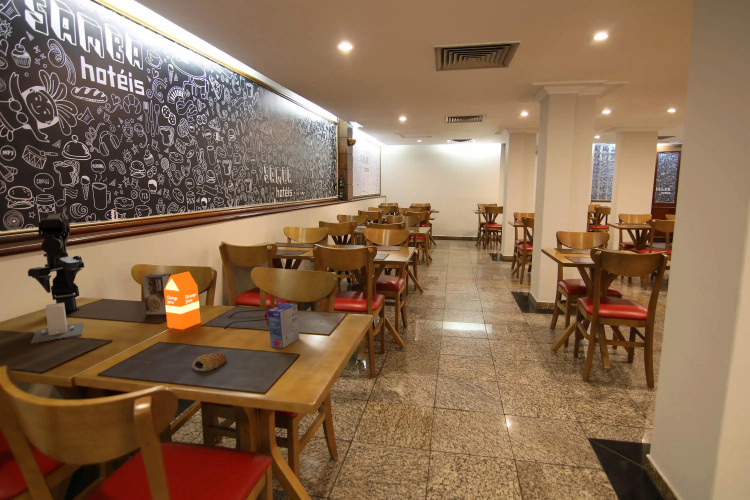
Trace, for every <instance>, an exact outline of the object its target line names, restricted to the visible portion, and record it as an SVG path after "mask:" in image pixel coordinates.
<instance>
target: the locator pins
mask: <svg viewBox="0 0 750 500" xmlns="http://www.w3.org/2000/svg"><path fill="white" fill-rule="evenodd" d="M70 330H74V325H71V326H70ZM45 334H46V330H42V335H45ZM58 335H60V334H59V331H55V336H58Z"/></svg>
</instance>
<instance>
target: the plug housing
mask: <svg viewBox="0 0 750 500" xmlns="http://www.w3.org/2000/svg"><path fill="white" fill-rule="evenodd" d="M44 309H45V313H46V314H45V315H46V317H45V318H46V323H47V328H48V331H49V335H53V334H55V331H59V334H60V333H66V332H67V329H68V328H67V325H68V319H67V315H66V313H65V305H64V303H57V304H56V303H51V304H46V306H45V308H44Z"/></svg>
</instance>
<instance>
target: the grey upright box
mask: <svg viewBox="0 0 750 500" xmlns="http://www.w3.org/2000/svg"><path fill="white" fill-rule="evenodd" d="M170 276H172V274H171V273H150V274H147V275H144V276H142V288H143V295H144V305H145V312H146V313H145V314H146V315H166V306H165V305H166V304H165V294H164V290H165V287H166V285H167V283H168V281H169V278H170Z"/></svg>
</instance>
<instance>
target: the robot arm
mask: <svg viewBox="0 0 750 500" xmlns="http://www.w3.org/2000/svg"><path fill="white" fill-rule="evenodd" d="M37 224H38V226H37V230H38V238H43V241H42V243H41V246H40V247H41V249H42V251H43V252H44V253H43V257H44V258H45V257H46V263H45V264H44V266H43V267H42V266H41V267H40V266H38V267H32V268H31V267H30V268H29V269H28V271H27V276H28V277H31V278H32V279H35V280H36V282H38V283H39V284H40V285H41V287H42V288H43V289H44V290H45V292H46V293H48V294H50V293H51V296H52V301H55V304H57V303H64V305H65V313H66V314H69V313H70V314H71V313H73V312H77V311H79V310H81V309H80V308H79V307H78V306H77V298H78V297H79V296H80V291H79V290H80V289H79V286H78V285H77V284H76V283H75V279H76V276H77V274H78V273H79V272H80V271H82V270H83V269H84V268H85V263H84V262H83V259H82V256H81V255H73V256H69V253H68V251H67V242H68V240H69V239H70V233H72V231H71V225H70V221H69V220H68V219H67V218H65V217H64V215H63V213H60V212H59V213H47V218H40V220H39V221H38V223H37ZM53 272H56V275H55V276H54V277H53V278H52V275H50V274H51V273H53ZM51 278H52V285H51V283H50V282H51V281H50V279H51Z"/></svg>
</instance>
